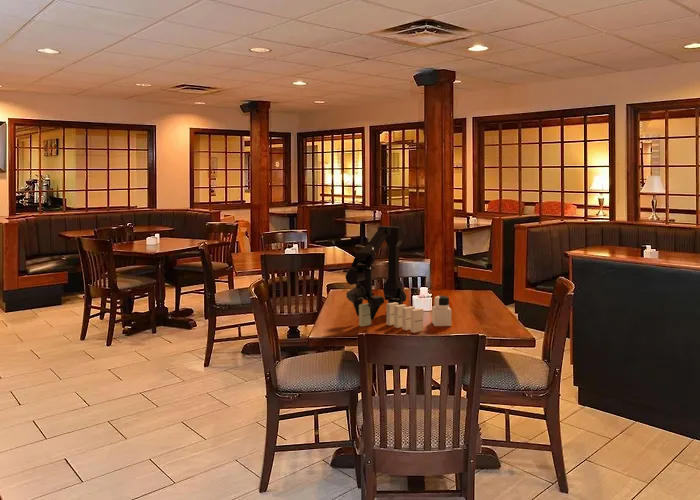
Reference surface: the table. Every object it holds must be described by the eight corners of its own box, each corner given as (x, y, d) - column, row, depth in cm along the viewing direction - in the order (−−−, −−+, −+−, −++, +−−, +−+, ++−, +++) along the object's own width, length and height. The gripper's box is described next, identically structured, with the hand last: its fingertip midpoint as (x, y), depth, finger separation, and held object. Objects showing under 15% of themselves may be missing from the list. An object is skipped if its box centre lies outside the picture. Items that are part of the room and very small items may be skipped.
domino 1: (386, 324, 263) (386, 303, 262) (395, 322, 266) (395, 302, 265) (389, 325, 261) (389, 304, 260) (398, 323, 264) (398, 303, 263)
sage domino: (359, 325, 261) (358, 304, 260) (368, 323, 264) (368, 303, 263) (362, 326, 260) (361, 305, 259) (371, 324, 263) (371, 303, 262)
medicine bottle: (448, 322, 266) (448, 294, 265) (451, 326, 259) (451, 297, 258) (431, 322, 266) (431, 294, 265) (434, 326, 259) (434, 298, 257)
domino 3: (402, 329, 255) (402, 307, 254) (411, 327, 258) (411, 306, 257) (405, 330, 253) (405, 308, 252) (414, 328, 256) (414, 307, 255)
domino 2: (394, 327, 259) (394, 305, 258) (403, 325, 262) (403, 304, 261) (397, 327, 257) (397, 306, 256) (406, 326, 260) (406, 304, 259)
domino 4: (410, 331, 251) (410, 309, 250) (419, 329, 254) (419, 308, 253) (414, 332, 249) (414, 310, 248) (423, 330, 252) (423, 309, 251)
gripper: (336, 280, 262) (336, 316, 264) (363, 286, 248) (364, 324, 250) (357, 277, 269) (357, 312, 271) (385, 283, 254) (385, 320, 256)
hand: (365, 317), depth 262 cm, fingers open, 9 cm apart
